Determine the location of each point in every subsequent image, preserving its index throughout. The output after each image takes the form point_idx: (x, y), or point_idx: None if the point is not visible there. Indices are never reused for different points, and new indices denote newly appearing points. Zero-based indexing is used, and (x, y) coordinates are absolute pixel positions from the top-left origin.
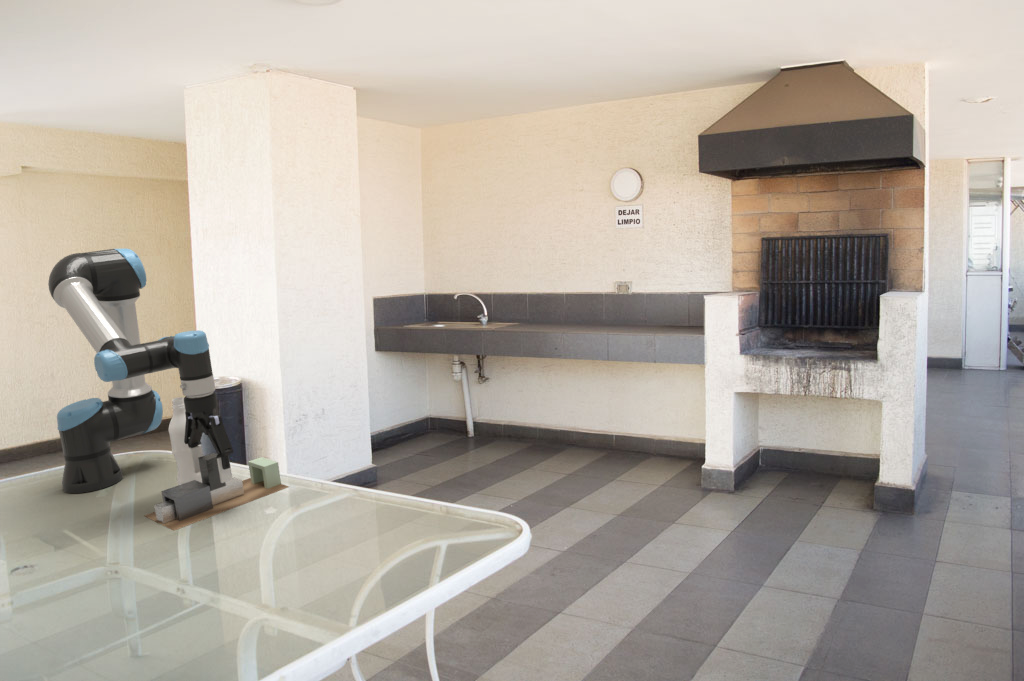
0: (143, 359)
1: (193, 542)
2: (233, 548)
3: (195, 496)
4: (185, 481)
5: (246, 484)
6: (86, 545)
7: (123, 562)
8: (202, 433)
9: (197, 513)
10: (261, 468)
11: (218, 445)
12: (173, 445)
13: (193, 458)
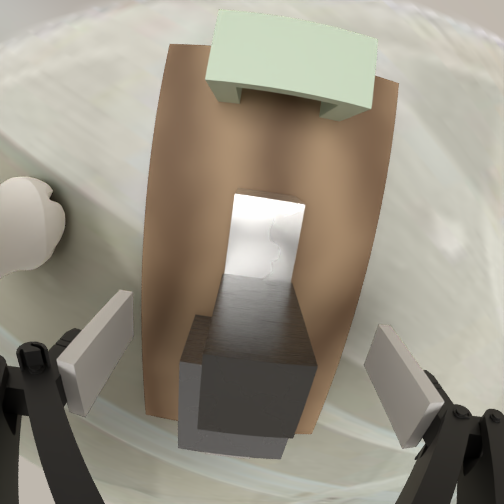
0: None
1: (384, 422)
2: (472, 391)
3: None
4: (40, 264)
5: (211, 120)
6: (179, 484)
7: (315, 490)
8: (85, 465)
9: None
10: (336, 103)
11: (457, 492)
12: None
13: (107, 379)
